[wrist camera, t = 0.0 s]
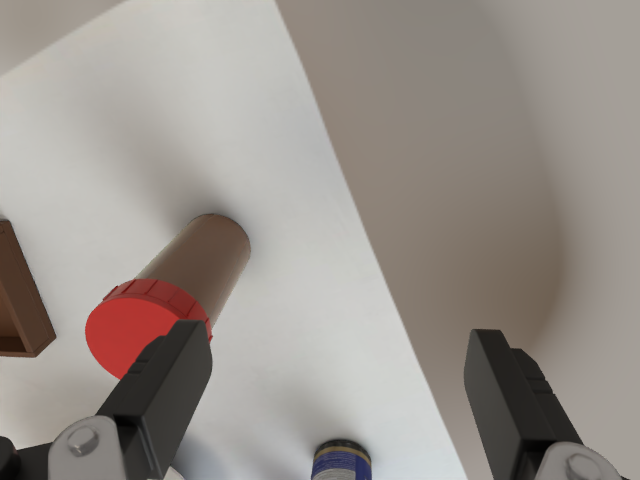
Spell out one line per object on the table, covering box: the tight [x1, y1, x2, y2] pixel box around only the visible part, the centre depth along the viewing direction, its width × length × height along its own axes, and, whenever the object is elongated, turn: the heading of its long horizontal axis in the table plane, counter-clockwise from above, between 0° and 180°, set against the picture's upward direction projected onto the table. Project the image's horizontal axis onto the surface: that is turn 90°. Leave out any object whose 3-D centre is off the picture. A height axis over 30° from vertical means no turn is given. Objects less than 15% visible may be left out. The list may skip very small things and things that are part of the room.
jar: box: [134, 214, 251, 330], centre depth 26 cm, size 6×6×12 cm
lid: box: [85, 279, 213, 380], centre depth 22 cm, size 6×6×2 cm
